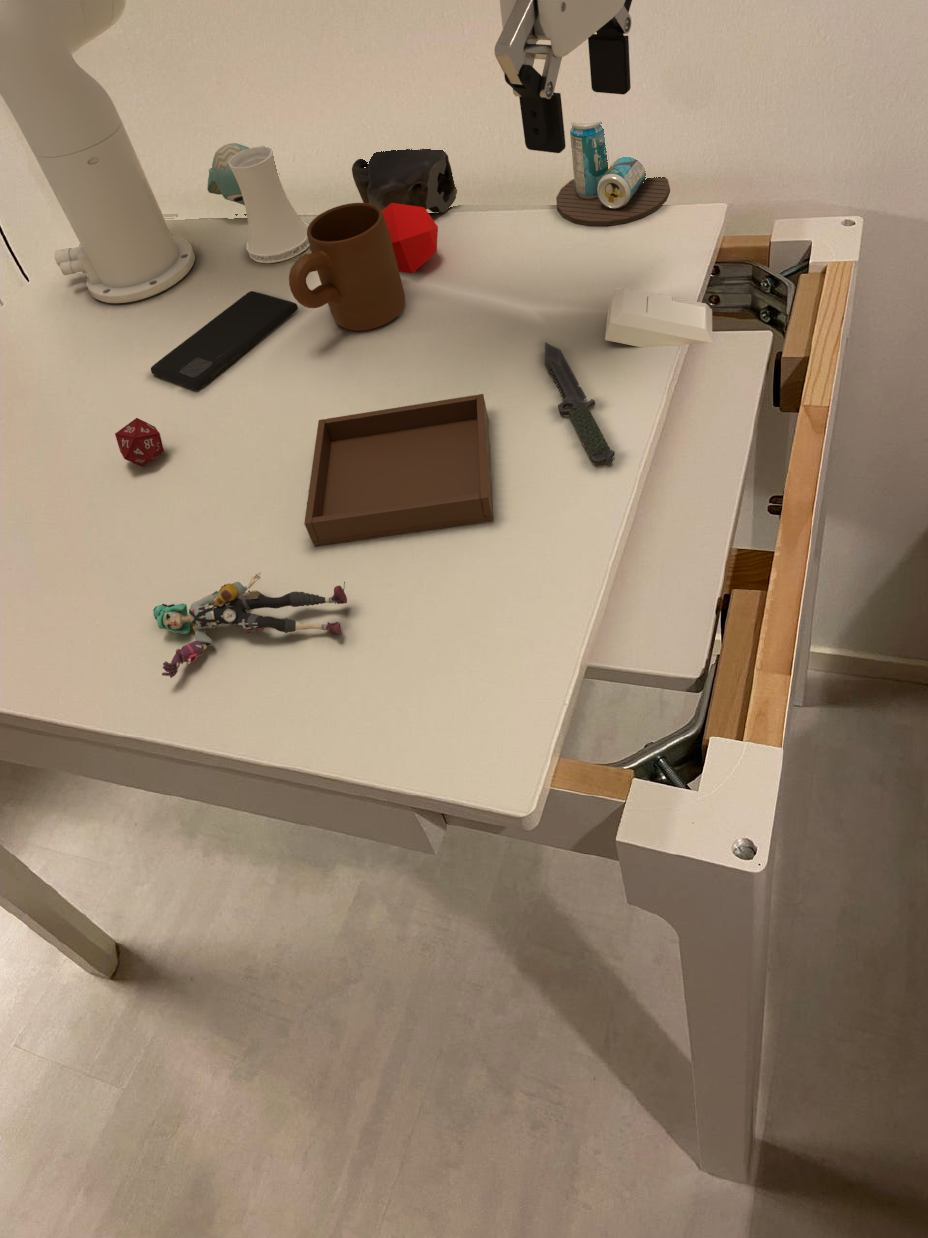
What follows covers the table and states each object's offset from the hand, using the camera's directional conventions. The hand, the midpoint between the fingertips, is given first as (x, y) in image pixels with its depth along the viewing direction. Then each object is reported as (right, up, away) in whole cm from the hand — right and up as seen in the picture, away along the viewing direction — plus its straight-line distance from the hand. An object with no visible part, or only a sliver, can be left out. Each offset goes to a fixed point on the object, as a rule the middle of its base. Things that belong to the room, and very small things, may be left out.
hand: (579, 119), depth 72 cm
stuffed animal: (-33, +15, +47) cm, 60 cm away
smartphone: (-33, -10, +24) cm, 42 cm away
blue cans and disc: (+7, +7, +28) cm, 30 cm away
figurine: (-18, -38, -6) cm, 42 cm away
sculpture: (-13, +3, +29) cm, 31 cm away
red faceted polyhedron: (-11, +2, +24) cm, 26 cm away
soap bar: (+8, -13, +12) cm, 20 cm away
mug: (-20, -9, +22) cm, 30 cm away
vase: (-30, +4, +35) cm, 46 cm away
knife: (+2, -19, +7) cm, 20 cm away
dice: (-37, -24, +13) cm, 46 cm away
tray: (-14, -27, +5) cm, 30 cm away
